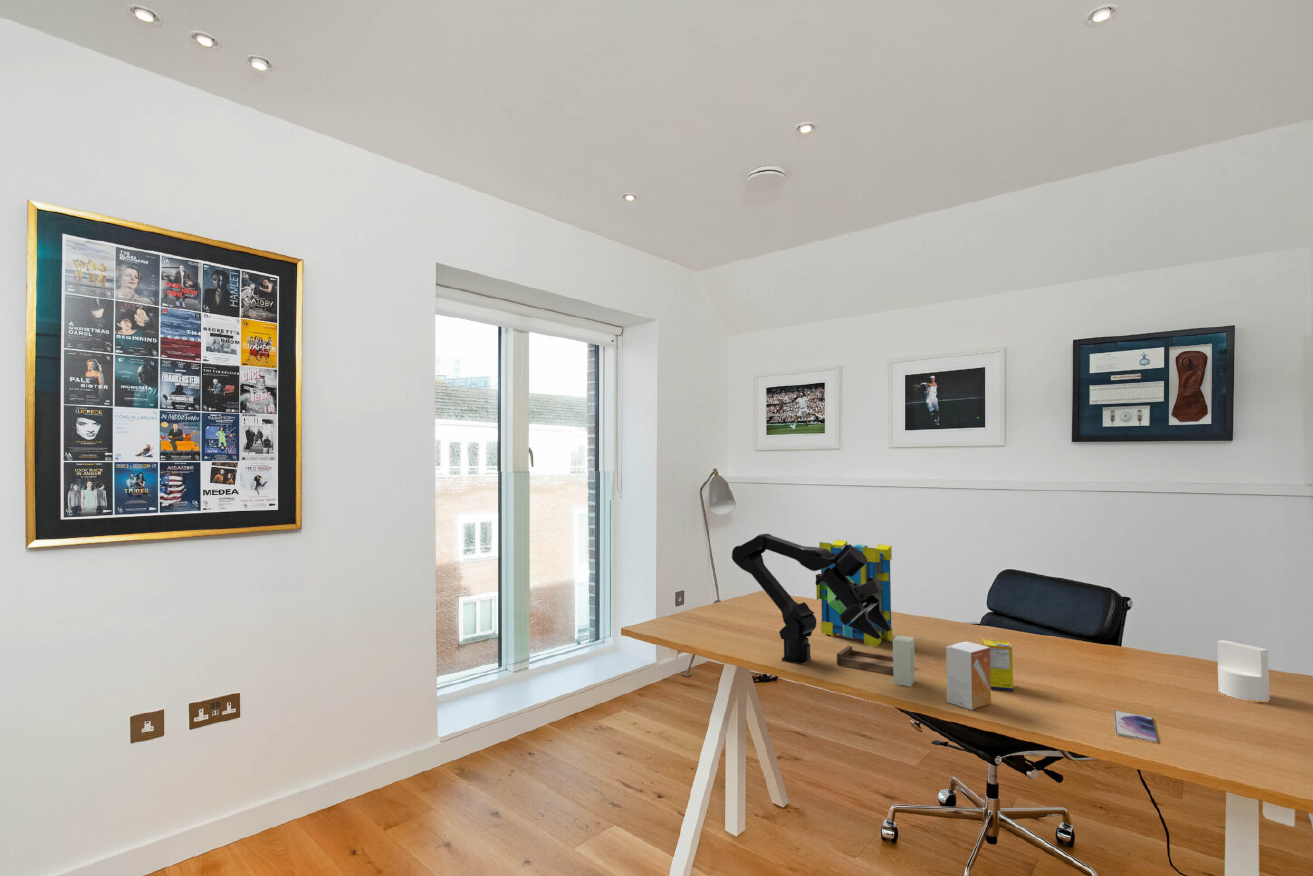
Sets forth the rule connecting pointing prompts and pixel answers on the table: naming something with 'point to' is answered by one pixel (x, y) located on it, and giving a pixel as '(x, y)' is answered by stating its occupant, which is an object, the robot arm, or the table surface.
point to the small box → (968, 675)
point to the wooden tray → (865, 660)
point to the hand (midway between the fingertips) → (884, 634)
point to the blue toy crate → (874, 567)
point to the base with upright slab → (1243, 671)
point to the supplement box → (1000, 664)
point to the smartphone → (1135, 726)
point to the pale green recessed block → (903, 660)
